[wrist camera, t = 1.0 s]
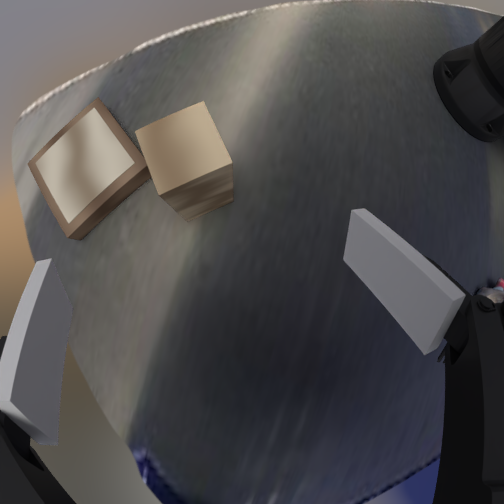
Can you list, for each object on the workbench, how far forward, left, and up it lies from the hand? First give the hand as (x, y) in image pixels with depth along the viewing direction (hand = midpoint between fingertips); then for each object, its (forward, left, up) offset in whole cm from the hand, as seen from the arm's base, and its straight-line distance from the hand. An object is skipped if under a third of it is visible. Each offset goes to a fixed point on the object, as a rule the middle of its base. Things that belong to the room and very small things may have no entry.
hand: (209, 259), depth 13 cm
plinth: (+5, -17, -18) cm, 25 cm away
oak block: (-3, -7, -18) cm, 19 cm away
